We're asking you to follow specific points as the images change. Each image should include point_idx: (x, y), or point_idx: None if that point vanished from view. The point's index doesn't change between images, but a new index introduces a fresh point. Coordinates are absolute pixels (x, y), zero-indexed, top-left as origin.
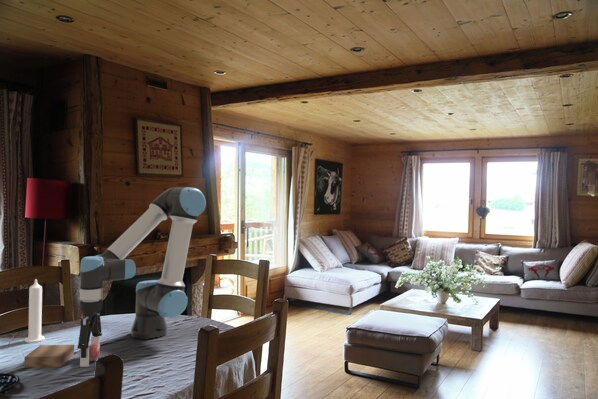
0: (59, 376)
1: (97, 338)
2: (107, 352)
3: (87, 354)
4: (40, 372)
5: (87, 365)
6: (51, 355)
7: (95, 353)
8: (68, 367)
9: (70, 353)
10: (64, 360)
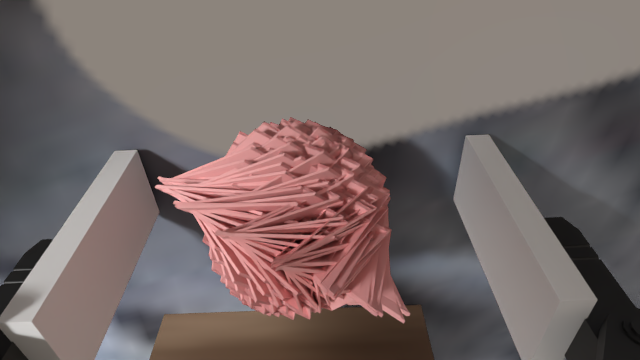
0: (628, 258)
1: (50, 316)
2: (24, 79)
3: (542, 231)
4: (500, 356)
5: (493, 145)
6: None
7: (344, 166)
8: (449, 264)
9: (234, 341)
10: (360, 327)
